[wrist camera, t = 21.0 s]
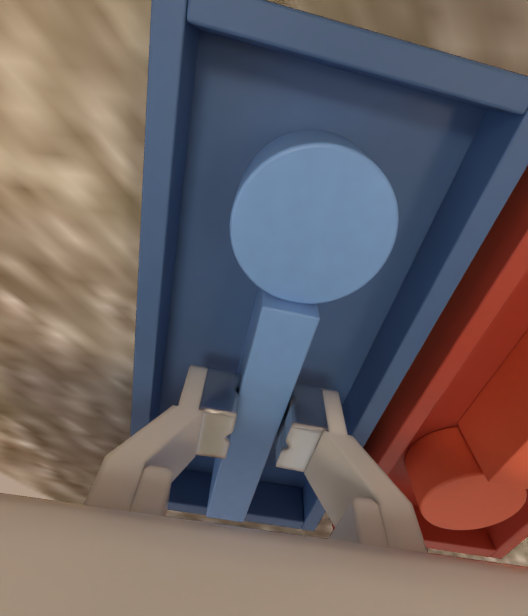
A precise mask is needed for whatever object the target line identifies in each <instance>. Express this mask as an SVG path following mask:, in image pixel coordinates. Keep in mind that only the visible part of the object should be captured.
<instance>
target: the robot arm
mask: <svg viewBox="0 0 528 616" xmlns="http://www.w3.org/2000/svg"><path fill="white" fill-rule="evenodd" d="M207 371H208V372H207ZM240 384H241V374H238V373H233V372H228V371H223V370H218V369H214V368H209V367H208V368H207V367H202V366H197V365H193V364H191V365H190V367H189V370H188V374H187V377H186V380H185V384H184V387H183V391H182V394H181V398H180V401H179V405H178V406H175V405H173V406H171V407H170V408H169V409H167V410H166V411H165V412H163V413H162V414H161V415H159V416H158V417H156V418H155V419H154V420H152V421H151V422H150V423H148V424H147V425H146V426H144V427H143V428H142V429H140V430H139V431H138V432H136V433H135V434H134V435H132V436H131V437H130V438H128V439H127V440H126V441H124V442H123V443H122V444H120V445H119V446H118V447H116V448H115V449H114V450H112V451H111V452H110V453H108V454H107V455H106V456H105V458H104V460H103V462H102V464H101V466H100V469H99V471H98V473H97V475H96V478H95V480H94V482H93V484H92V486H91V489H90V491H89V493H88V495H87V498H86V500H85V502H84V504H76V503H69V502H62V501H55V500H47V499H40V498H33V497H26V496H18V495H12V494H5V493H0V616H528V567H523V566H516V565H509V564H502V563H495V562H488V561H481V560H474V559H467V558H460V557H453V556H445V555H438V554H431V553H428V551H427V548H426V545H425V542H424V539H423V536H422V533H421V530H420V527H419V523H418V520H417V517H416V514H415V511H414V508H413V505H412V503H411V502H410V501H409V500H408V499H407V497H406V496H405V495H404V494H403V493H402V492H401V491H400V489H399V488H398V487H397V486H396V485H395V484H394V483H393V481H392V480H391V479H390V478H389V477H388V476H387V475H386V473H385V472H384V471H383V470H382V469H381V468H380V467H379V465H378V464H377V463H376V462H375V461H374V460H373V459H372V458H371V456H370V455H369V454H368V453H367V452H366V451H365V450H364V448H363V447H362V446H361V445H360V444H359V443H358V442H357V440H356V439H355V438H354V437H353V436H350V435H348V434H347V429H346V425H345V420H344V415H343V411H342V406H341V401H340V397H339V393H338V392H337V391H335V390H329V389H323V388H316V387H310V386H304V385H299V384H295V387H294V390H293V392H292V395H291V397H290V400H289V403H288V405H287V408H286V411H285V413H284V416H283V419H282V421H281V424H280V427H279V429H278V432H277V437H278V441H277V444H276V446H275V450H276V467H280V468H285V469H290V470H296V471H301V472H304V475H305V476H306V478H307V480H308V482H309V483H310V485H311V487H312V488H313V490H314V492H315V494H316V495H317V497H318V499H319V501H320V502H321V504H322V506H323V508H324V509H325V511H326V513H327V515H328V516H329V518H330V520H331V522H332V523H333V525H334V527H335V529H334V530H333V532H332V534H331V535H330V537H329V538H328V539H324V538H317V537H310V536H303V535H295V534H288V533H281V532H274V531H267V530H260V529H253V528H246V527H239V526H232V525H225V524H218V523H211V522H203V521H196V520H189V519H182V518H175V517H168V516H166V515H167V508H168V502H169V495H170V489H171V483H172V482H173V481H174V479H175V478H176V477H177V476H178V475H179V474H180V473H181V472H182V471H183V470H184V469H185V467H186V466H187V465H188V464H189V463H190V462H191V461H192V460H193V459H194V458H195V456H196V455H201V456H208V457H216V458H224V459H225V458H226V455H227V451H228V447H229V444H230V436H231V433H232V432H233V429H234V425H235V421H236V417H237V411H238V403H239V395H238V391H239V388H240Z"/></svg>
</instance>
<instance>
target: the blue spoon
mask: <svg viewBox="0 0 528 616" xmlns="http://www.w3.org/2000/svg"><path fill="white" fill-rule="evenodd" d="M398 221H399V217H398V205H397V200H396V196H395V193H394V191H393V188H392V186H391V184H390V182H389V180H388V178H387V177H386V175H385V174H384V173H383V171H382V170H381V169H380V168H379V167H378V166H377V165H376V164H375V163H374V162H373V161H372V160H371V159H370V158H369V157H368V156H367V155H366V154H364V153H363V152H362V151H361V150H360V149H359V148H358V147H357V146H355V145H354V144H353V143H351V142H350V141H349V140H347V139H345V138H343V137H341V136H339V135H337V134H334V133H331V132H327V131H322V130H301V131H296V132H292V133H288V134H286V135H283V136H281V137H279V138H277V139H275V140H273V141H272V142H270V143H269V144H267V145H266V146H265V147H264V148H262V149H261V150H260V151H259V152H258V153H257V154H256V155H255V156H254V158H253V159H252V160H251V162H250V163H249V165H248V166H247V168H246V170H245V172H244V174H243V176H242V179H241V181H240V184H239V187H238V190H237V193H236V196H235V199H234V202H233V206H232V210H231V215H230V239H231V245H232V248H233V252H234V255H235V257H236V259H237V261H238V263H239V265H240V267H241V268H242V270H243V271H244V273H245V274H246V275H247V276H248V277H249V279H250V280H251V281H253V282H254V283H255V284H256V285H257V286H258V291H257V295H256V299H255V303H254V306H253V310H252V314H251V318H250V322H249V326H248V330H247V334H246V338H245V342H244V346H243V350H242V354H241V358H240V362H239V366H238V370H237V373H238V374H241V384H240V388H239V391H238V395H239V403H238V411H237V417H236V421H235V425H234V429H233V432H232V433H231V436H230V444H229V447H228V451H227V455H226V458H225V459H224V458H216V457H215V461H214V467H213V473H212V480H211V486H210V492H209V499H208V505H207V511H206V516H207V517H211V518H218V519H224V520H231V521H238V522H244V519H245V517H246V514H247V511H248V509H249V506H250V503H251V501H252V498H253V496H254V493H255V490H256V488H257V485H258V482H259V480H260V477H261V474H262V472H263V469H264V466H265V464H266V461H267V458H268V456H269V453H270V450H271V448H272V445H273V443H274V440H275V437H276V435H277V432H278V429H279V427H280V424H281V421H282V419H283V416H284V413H285V411H286V408H287V405H288V403H289V400H290V397H291V395H292V392H293V390H294V387H295V384H296V382H297V379H298V376H299V374H300V371H301V368H302V366H303V363H304V360H305V358H306V355H307V352H308V350H309V347H310V344H311V342H312V339H313V336H314V334H315V331H316V329H317V326H318V323H319V321H320V317H319V312H318V306H317V304H318V303H325V302H330V301H333V300H337V299H340V298H342V297H345V296H347V295H349V294H351V293H353V292H355V291H356V290H358V289H359V288H361V287H362V286H364V285H365V284H366V283H367V282H369V281H370V280H371V279H372V278H373V277H374V276H375V275H376V274H377V273H378V271H379V270H380V269H381V268H382V266H383V265H384V263H385V262H386V260H387V258H388V256H389V255H390V253H391V251H392V248H393V245H394V243H395V239H396V235H397V231H398Z"/></svg>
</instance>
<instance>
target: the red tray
mask: <svg viewBox="0 0 528 616" xmlns="http://www.w3.org/2000/svg"><path fill="white" fill-rule="evenodd" d="M527 330H528V166H527V167H526V169H525V171H524V172H523V174H522V176H521V178H520V179H519V181H518V183H517V184H516V186H515V188H514V190H513V191H512V193H511V195H510V196H509V198H508V200H507V202H506V203H505V205H504V207H503V208H502V210H501V212H500V214H499V215H498V217H497V219H496V220H495V222H494V224H493V226H492V227H491V229H490V231H489V232H488V234H487V236H486V238H485V239H484V241H483V243H482V244H481V246H480V248H479V250H478V251H477V253H476V255H475V256H474V258H473V260H472V262H471V263H470V265H469V267H468V268H467V270H466V272H465V274H464V275H463V277H462V279H461V280H460V282H459V284H458V286H457V287H456V289H455V291H454V292H453V294H452V296H451V298H450V299H449V301H448V303H447V304H446V306H445V308H444V310H443V311H442V313H441V315H440V316H439V318H438V320H437V322H436V323H435V325H434V327H433V328H432V330H431V332H430V334H429V335H428V337H427V339H426V340H425V342H424V344H423V346H422V347H421V349H420V351H419V352H418V354H417V356H416V358H415V359H414V361H413V363H412V364H411V366H410V368H409V370H408V371H407V373H406V375H405V376H404V378H403V380H402V382H401V383H400V385H399V387H398V388H397V390H396V392H395V394H394V395H393V397H392V399H391V400H390V402H389V404H388V406H387V407H386V409H385V411H384V412H383V414H382V416H381V418H380V419H379V421H378V423H377V424H376V426H375V428H374V430H373V431H372V433H371V435H370V436H369V438H368V440H367V442H366V443H365V445H364V447H363V448H364V450H365V451H366V452H367V453H368V454H369V455H370V456H371V458H372V459H373V460H374V461H375V462H376V463H377V464H378V465H379V467H380V468H381V469H382V470H383V471H384V472H385V473H386V475H387V476H388V477H389V478H390V479H391V480H392V481H393V483H394V484H395V485H396V486H397V487H398V488H399V489H400V491H401V492H402V493H403V494H404V495H405V496H406V497H407V499H408V500H409V501H410V502H411V503H412V505H413V508H414V511H415V514H416V517H417V520H418V523H419V527H420V530H421V533H422V536H423V539H424V542H425V545H426V548H431V549H438V550H444V551H451V552H458V553H465V554H472V555H478V556H485V557H489V556H490V557H493V558H502V557H504V556H505V555H506V554H507V553H508V552H510V551H511V550H512V549H513V548H514V547H516V546H517V545H518V544H519V543H521V542H522V541H523V540H524V539H525V538H527V537H528V489H526V492H527V497H526V501H525V503H524V505H523V506H522V508H521V509H520V510H519V511H518V512H517V513H515V514H514V515H513V516H511V517H510V518H508V519H506V520H504V521H502V522H500V523H497V524H494V525H491V526H488V527H484V528H479V529H472V530H451V529H445V528H441V527H438V526H435V525H433V524H431V523H430V522H428V521H427V520H426V519H425V518H424V517H423V515H422V514H421V512H420V509H419V506H418V503H417V500H416V497H415V494H414V491H413V488H412V485H411V482H410V479H409V476H408V473H407V470H406V466H405V458H406V454H407V452H408V450H409V449H410V447H411V446H412V445H413V444H414V443H415V442H416V441H418V440H419V439H420V438H422V437H424V436H425V435H427V434H429V433H432V432H434V431H437V430H440V429H444V428H449V427H459V426H458V421H459V420H460V419H461V418H462V416H463V415H464V414H465V412H466V411H467V410H468V408H469V407H470V406H471V404H472V403H473V402H474V400H475V399H476V398H477V396H478V395H479V394H480V392H481V391H482V390H483V388H484V387H485V386H486V384H487V383H488V382H489V380H490V379H491V378H492V376H493V375H494V374H495V372H496V371H497V370H498V368H499V367H500V366H501V364H502V363H503V362H504V360H505V359H506V358H507V356H508V355H509V354H510V352H511V351H512V350H513V348H514V347H515V346H516V344H517V343H518V342H519V341H520V339H521V338H522V337H523V335H524V334H525V333H526V331H527ZM332 527H333V530H334V529H335V527H334V525H333V523H332Z"/></svg>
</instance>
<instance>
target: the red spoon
mask: <svg viewBox="0 0 528 616" xmlns="http://www.w3.org/2000/svg"><path fill="white" fill-rule="evenodd" d="M458 426H459V427H449V428H444V429H440V430H437V431H434V432H432V433H429V434H427V435H425V436H424V437H422V438H420V439H419V440H418V441H416V442H415V443H414V444H413V445H412V446H411V447H410V449H409V450H408V452H407V454H406V458H405V466H406V470H407V473H408V476H409V479H410V482H411V485H412V488H413V491H414V494H415V497H416V500H417V503H418V506H419V509H420V512H421V514H422V515H423V517H424V518H425V519H426V520H427V521H428V522H430V523H431V524H433V525H435V526H438V527H441V528H445V529H451V530H472V529H479V528H484V527H488V526H491V525H494V524H497V523H500V522H502V521H504V520H506V519H508V518H510V517H511V516H513V515H514V514H515V513H517V512H518V511H519V510H520V509H521V508H522V506H523V505H524V503H525V501H526V497H527V492H526V489H528V330H527V331H526V333H525V334H524V335H523V337H522V338H521V339H520V341H519V342H518V343H517V344H516V346H515V347H514V348H513V350H512V351H511V352H510V354H509V355H508V356H507V358H506V359H505V360H504V362H503V363H502V364H501V366H500V367H499V368H498V370H497V371H496V372H495V374H494V375H493V376H492V378H491V379H490V380H489V382H488V383H487V384H486V386H485V387H484V388H483V390H482V391H481V392H480V394H479V395H478V396H477V398H476V399H475V400H474V402H473V403H472V404H471V406H470V407H469V408H468V410H467V411H466V412H465V414H464V415H463V416H462V418H461V419H460V420H459V421H458Z"/></svg>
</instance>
